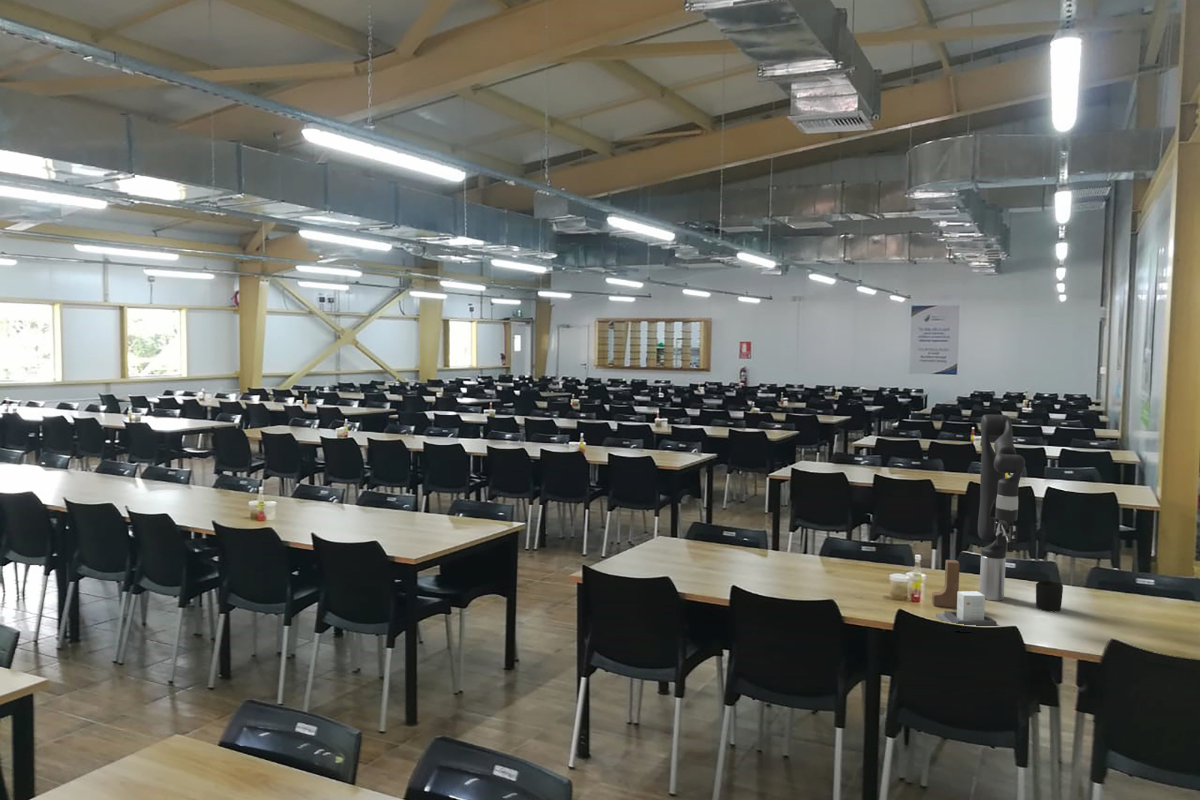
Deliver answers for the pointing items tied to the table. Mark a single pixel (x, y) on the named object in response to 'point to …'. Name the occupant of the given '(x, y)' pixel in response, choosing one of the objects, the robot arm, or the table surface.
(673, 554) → the table surface
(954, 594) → the wooden block
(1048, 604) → the pen holder
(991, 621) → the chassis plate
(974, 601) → the small box
